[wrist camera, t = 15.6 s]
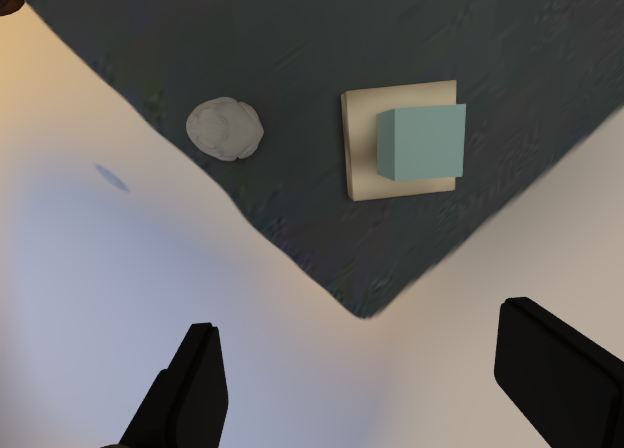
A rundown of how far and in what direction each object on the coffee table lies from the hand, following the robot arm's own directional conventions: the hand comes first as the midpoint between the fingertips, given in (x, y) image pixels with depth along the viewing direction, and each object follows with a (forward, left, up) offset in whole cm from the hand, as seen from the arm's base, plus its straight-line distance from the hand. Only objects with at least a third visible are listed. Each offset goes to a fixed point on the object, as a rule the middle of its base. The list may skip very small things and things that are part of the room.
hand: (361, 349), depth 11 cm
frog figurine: (-8, -8, -28) cm, 31 cm away
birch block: (-6, +10, -29) cm, 31 cm away
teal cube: (-6, +10, -25) cm, 27 cm away
